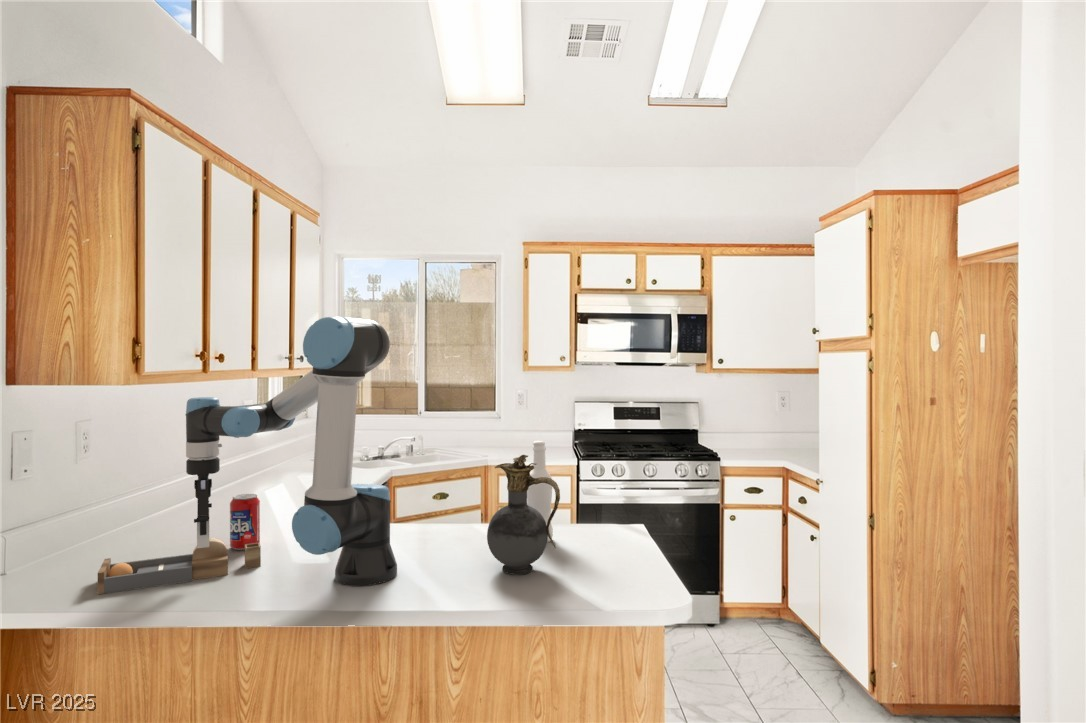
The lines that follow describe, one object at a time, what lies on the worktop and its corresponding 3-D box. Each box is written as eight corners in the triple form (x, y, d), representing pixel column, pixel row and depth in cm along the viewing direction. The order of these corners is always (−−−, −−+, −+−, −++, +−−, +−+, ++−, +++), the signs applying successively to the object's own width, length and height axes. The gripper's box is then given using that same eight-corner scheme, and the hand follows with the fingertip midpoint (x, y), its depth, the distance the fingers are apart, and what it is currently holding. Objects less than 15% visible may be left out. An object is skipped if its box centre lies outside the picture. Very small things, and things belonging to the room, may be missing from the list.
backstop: (103, 593, 148) (103, 572, 148) (97, 594, 148) (97, 573, 148) (110, 578, 158) (110, 558, 158) (104, 578, 158) (104, 558, 158)
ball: (117, 562, 152) (101, 580, 151) (136, 572, 154) (121, 591, 152) (119, 556, 156) (104, 574, 155) (138, 566, 158) (123, 584, 157)
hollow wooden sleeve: (260, 566, 167) (260, 546, 167) (245, 568, 166) (245, 548, 166) (259, 562, 171) (259, 542, 171) (244, 564, 169) (244, 544, 169)
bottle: (556, 542, 189) (557, 442, 189) (531, 545, 186) (531, 443, 186) (546, 535, 197) (546, 438, 196) (522, 538, 194) (522, 440, 193)
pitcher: (495, 561, 172) (495, 450, 172) (564, 566, 168) (564, 453, 167) (482, 574, 161) (482, 457, 161) (555, 581, 157) (555, 460, 157)
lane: (191, 580, 157) (191, 566, 157) (103, 593, 148) (103, 578, 148) (192, 566, 167) (192, 553, 167) (110, 578, 158) (110, 564, 158)
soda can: (265, 544, 186) (265, 493, 186) (246, 552, 179) (246, 499, 179) (243, 542, 188) (243, 492, 188) (223, 550, 181) (223, 498, 181)
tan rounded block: (227, 574, 161) (227, 543, 161) (191, 579, 157) (191, 547, 157) (226, 563, 170) (226, 533, 170) (192, 567, 166) (192, 537, 166)
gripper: (220, 464, 153) (220, 551, 153) (218, 450, 175) (219, 526, 176) (184, 466, 150) (185, 556, 150) (187, 451, 172) (188, 530, 172)
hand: (203, 540), depth 163 cm, fingers open, 13 cm apart
